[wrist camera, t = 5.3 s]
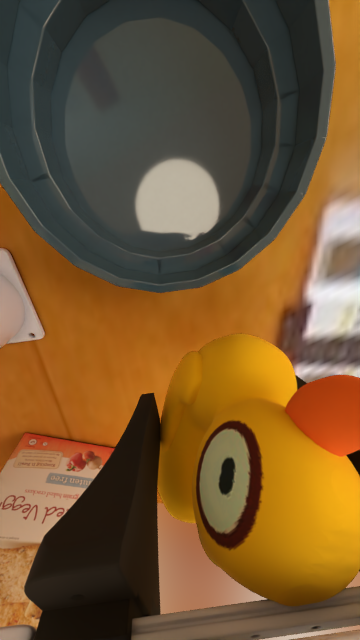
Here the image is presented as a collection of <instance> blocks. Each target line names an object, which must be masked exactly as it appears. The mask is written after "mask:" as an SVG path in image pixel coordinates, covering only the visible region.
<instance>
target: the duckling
mask: <svg viewBox="0 0 360 640" xmlns="http://www.w3.org/2000/svg"><path fill="white" fill-rule="evenodd" d="M160 438H161V441H160V456H159V469H158V483H157V486H158V491H159V495H160V497H161V499H162V501H163V503H164V505H165V507H166V509H167V511H168V512H169V513H170V515H171V516H173V517H174V518H176V519H178V520H180V521H183V522H188V523H196V524H197V527H198V533H199V538H200V541H201V544H202V547H203V549H204V551H205V553H206V554H207V556H208V557H209V559H210V560H211V561H212V562H213V563H214V564H216V565H217V566H218V567H220V568H221V569H222V570H223V571H225V572H226V573H227V574H228V575H229V576H230V577H232V578H233V579H234V580H235V581H237V582H238V583H240V584H241V585H243V586H244V587H246V588H248V589H249V590H250V591H252V592H254V593H256V594H258V595H260V596H262V597H264V598H267V599H269V600H272V601H275V602H277V603H279V604H282V605H285V606H292V607H293V606H301V605H307V604H313V603H318V602H322V601H324V600H327V599H329V598H331V597H333V596H335V595H336V594H338V593H339V592H341V591H342V590H344V589H345V588H346V587H347V586H348V584H349V583H350V582H351V581H352V580H353V579H354V578H355V576H356V575H357V573H358V571H359V570H360V476H359V474H358V472H357V471H356V469H355V467H354V466H353V464H352V463H351V461H350V460H349V458H348V457H347V456H346V455H348V454H350V453H353V452H355V451H357V450H359V449H360V378H358V377H354V376H349V375H334V376H329V377H325V378H322V379H318V380H315V381H313V382H310V383H307V384H305V385H303V386H302V387H301V388H299V389H298V390H297V381H296V376H295V372H294V369H293V367H292V364H291V362H290V361H289V359H288V358H287V356H286V355H285V354H284V353H283V352H282V351H281V350H280V349H278V348H277V347H275V346H274V345H272V344H271V343H269V342H267V341H265V340H263V339H261V338H259V337H256V336H252V335H249V334H242V333H240V334H231V335H227V336H224V337H221V338H218V339H215V340H213V341H211V342H209V343H208V344H206V345H205V346H203V347H202V348H201V349H200V350H199V351H198V352H195V351H192V352H189V353H187V354H186V355H185V356H184V357H183V358H182V360H181V361H180V363H179V365H178V367H177V368H176V370H175V372H174V374H173V376H172V379H171V382H170V385H169V388H168V391H167V395H166V398H165V402H164V406H163V411H162V417H161V423H160Z"/></svg>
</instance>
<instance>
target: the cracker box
mask: <svg viewBox="0 0 360 640" xmlns="http://www.w3.org/2000/svg"><path fill="white" fill-rule="evenodd" d="M114 449H115V448H110V447H104V446H98V445H93V444H87V443H81V442H75V441H70V440H64V439H58V438H52V437H47V436H41V435H36V434H30V433H25V434H24V435H23V437H22V438H21V440H20V442H19V443H18V445H17V447H16V448H15V450H14V451H13V453H12V454H11V456H10V458H9V459H8V461H7V463H6V464H5V466H4V468H3V469H2V471H1V473H0V627H6V626H13V625H23V624H25V625H31V626H33V627H35V628H36V630H37V627H38V623H39V620H40V617H41V613H42V610H41V609H40V608H39V607H37V606H36V605H35V604H34V603H33V602H32V601H31V600H29V599H28V597H27V596H26V595H25V592H24V586H25V583H26V580H27V577H28V575H29V572H30V569H31V566H32V563H33V561H34V558H35V555H36V553H37V551H38V548H39V546H40V544H41V542H42V540H43V537H44V535H45V534H46V533H47V532H48V531H49V530H50V529H51V528H52V527H53V526H54V525H55V524H56V523H57V522H58V521H59V519H60V518H61V517H62V516H63V515H64V514H65V513H66V512H67V511H68V510H69V509H70V508H71V506H72V505H73V504H74V503H75V502H76V501H77V499H78V498H79V497H80V496H81V495H82V493H83V492H84V491H85V490H86V489H87V487H88V486H89V485H90V484H91V482H92V481H93V480H94V478H95V477H96V476H97V474H98V473H99V471H100V470H101V469H102V467H103V466H104V464H105V463H106V462H107V460H108V459H109V457H110V455H111V454H112V452H113V451H114Z"/></svg>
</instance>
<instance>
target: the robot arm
mask: <svg viewBox="0 0 360 640" xmlns="http://www.w3.org/2000/svg"><path fill="white" fill-rule="evenodd" d="M31 333H33V334H34V335H35V336H33V335H31ZM44 336H45V332H44V330H43V327H42V325H41V323H40V320H39V318H38V316H37V313H36V311H35V309H34V307H33V304H32V302H31V300H30V297H29V295H28V293H27V290H26V288H25V286H24V284H23V281H22V279H21V277H20V274H19V272H18V270H17V267H16V265H15V263H14V261H13V258H12V256H11V254H10V252H9V251H8V250H7V249H4V248H0V348H1V347H3V346H4V345H5V344H9V343H17V342H24V341H31V340H38V339H42V338H43V337H44ZM295 376H296V375H295ZM296 381H297V390H298V389H299V388H301V387H302V386H303V385H305V384H307V383H306V382H304V381H303V380H302V379H300V378H299V377H298V376H296ZM160 441H161V438H160V418H159V413H158V409H157V405H156V401H155V397H154V393H148V394H142V395H141V397H140V399H139V402H138V404H137V407H136V409H135V411H134V413H133V416H132V418H131V420H130V422H129V424H128V426H127V428H126V430H125V432H124V433H123V435H122V437H121V439H120V441H119V442H118V444H117V446H116V447H115V449H114V451H113V452H112V454H111V455H110V457H109V459H108V460H107V462H106V463H105V464H104V466H103V467H102V469H101V470H100V471H99V473H98V474H97V476H96V477H95V478H94V480H93V481H92V482H91V484H90V485H89V486H88V487H87V489H86V490H85V491H84V492H83V493H82V495H81V496H80V497H79V498H78V499H77V501H76V502H75V503H74V504H73V505H72V506H71V508H70V509H69V510H68V511H67V512H66V513H65V514H64V515H63V516H62V517H61V518H60V519H59V521H58V522H57V523H56V524H55V525H54V526H53V527H52V528H51V529H50V530H49V531H48V532H47V533H46V534H45V535H44V537H43V540H42V542H41V544H40V546H39V548H38V551H37V553H36V555H35V558H34V561H33V563H32V566H31V569H30V572H29V575H28V577H27V580H26V583H25V586H24V592H25V595H26V596H27V597H28V599H29V600H31V601H32V602H33V603H34V604H35V605H36V606H37V607H39V608H40V609H41V610H42V613H41V617H40V620H39V623H38V627H37V630H36V628H35V627H33V626H31V625H25V624H23V625H13V626H6V627H0V640H258V639H265V638H272V637H279V636H286V635H293V634H300V633H307V632H314V631H321V630H328V629H335V628H342V627H349V626H356V625H360V586H359V587H351V588H345V589H344V590H342V591H341V592H339V593H338V594H336V595H335V596H333V597H331V598H329V599H327V600H324V601H322V602H318V603H313V604H307V605H301V606H293V607H292V606H285V605H282V604H279V603H277V602H275V601H272V600H269V599H267V600H261V601H253V602H246V603H239V604H232V605H225V606H218V607H211V608H204V609H197V610H190V611H183V612H176V613H169V614H162V615H160V592H159V568H158V567H159V566H158V531H157V530H158V529H157V483H158V469H159V456H160ZM346 456H347V457H348V458H349V460H350V461H351V463H352V464H353V466H354V467H355V469H356V471H357V472H358V474H359V476H360V449H359V450H357V451H355V452H353V453H350V454H348V455H346ZM359 571H360V570H359ZM291 640H360V630H353V631H347V632H340V633H332V634H325V635H318V636H311V637H305V638H298V639H291Z"/></svg>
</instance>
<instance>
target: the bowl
mask: <svg viewBox="0 0 360 640" xmlns="http://www.w3.org/2000/svg"><path fill="white" fill-rule="evenodd" d="M335 66H336V61H335V52H334V43H333V34H332V25H331V16H330V7H329V0H0V183H1V185H2V186H3V188H4V189H5V191H6V192H7V193H8V195H9V196H10V198H11V199H12V200H13V202H14V203H15V205H16V206H17V207H18V209H19V210H20V212H21V213H22V214H23V216H24V217H25V219H26V220H27V221H28V223H29V224H30V226H31V227H32V229H33V230H34V231H36V233H37V234H38V235H39V236H40V237H42V238H43V239H44V240H45V241H46V242H48V243H49V244H50V245H51V246H52V247H53V248H55V249H56V250H57V251H58V252H59V253H60V254H62V255H63V256H64V257H65V258H66V259H67V260H69V261H70V262H71V263H72V264H73V265H75V266H76V267H78V268H80V269H82V270H84V271H86V272H88V273H91V274H93V275H95V276H97V277H99V278H101V279H103V280H105V281H107V282H109V283H112V284H114V285H116V286H117V285H118V286H119V287H125V288H131V289H138V290H144V291H150V292H156V293H164V292H171V291H178V290H186V289H193V288H200V287H203V286H205V285H207V284H209V283H211V282H214V281H216V280H218V279H220V278H222V277H224V276H227V275H229V274H231V273H233V272H235V271H238V270H239V269H241V268H242V267H243V266H244V265H245V264H247V263H248V262H249V261H250V260H251V259H252V258H254V257H255V256H256V255H257V254H258V253H259V252H261V251H262V250H263V249H264V248H265V247H266V246H268V245H269V244H270V243H271V242H272V241H273V240H274V239H275V238H276V237H277V235H278V234H279V232H280V231H281V230H282V228H283V227H284V225H285V224H286V222H287V221H288V219H289V218H290V216H291V215H292V214H293V212H294V211H295V209H296V208H297V206H298V205H299V203H300V202H301V200H302V199H303V198H304V196H305V194H306V192H307V189H308V186H309V184H310V181H311V178H312V176H313V173H314V170H315V168H316V165H317V162H318V160H319V157H320V154H321V152H322V149H323V146H324V144H325V141H326V137H327V132H328V125H329V117H330V109H331V101H332V93H333V85H334V78H335V70H336V67H335Z"/></svg>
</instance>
